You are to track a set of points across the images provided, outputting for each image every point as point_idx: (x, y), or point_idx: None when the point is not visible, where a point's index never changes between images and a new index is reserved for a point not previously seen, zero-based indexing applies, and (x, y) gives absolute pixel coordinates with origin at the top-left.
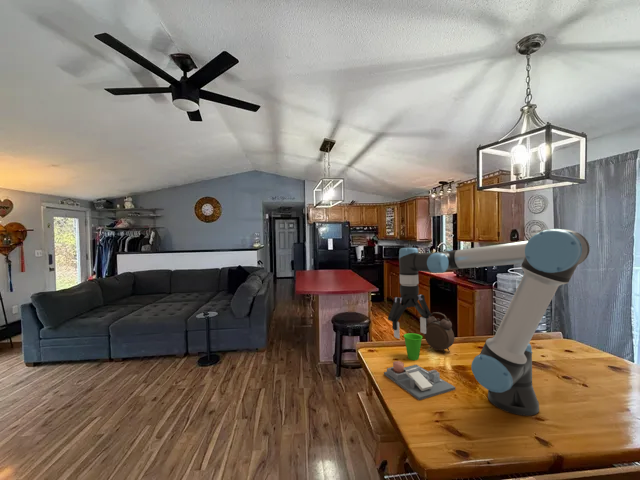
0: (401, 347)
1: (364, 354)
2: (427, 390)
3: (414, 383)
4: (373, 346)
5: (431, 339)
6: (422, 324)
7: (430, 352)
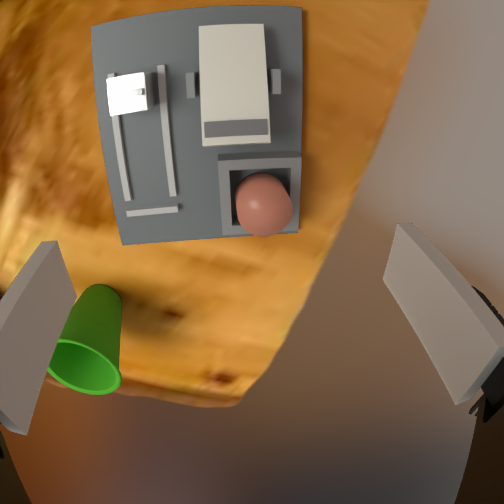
0: None
1: (261, 365)
2: None
3: (269, 69)
4: (199, 395)
5: None
6: (32, 337)
7: None
